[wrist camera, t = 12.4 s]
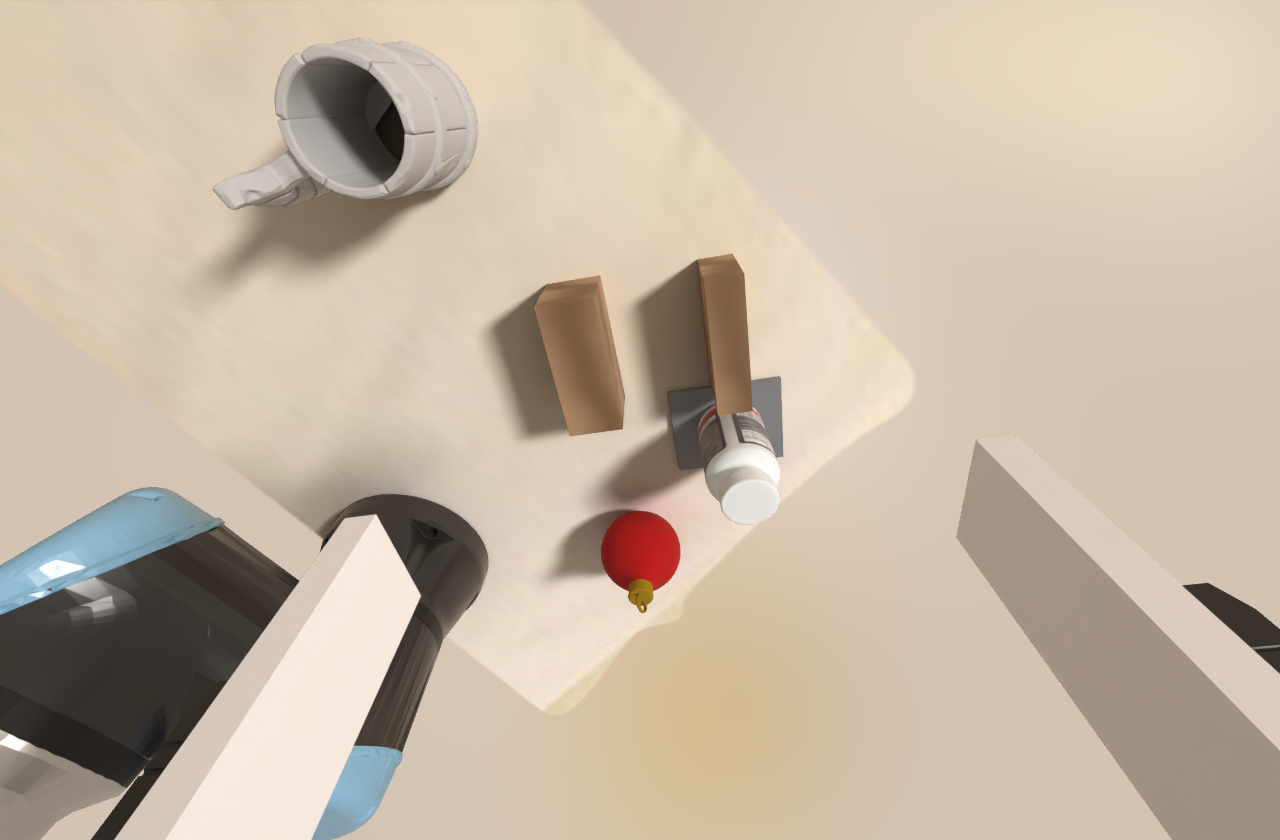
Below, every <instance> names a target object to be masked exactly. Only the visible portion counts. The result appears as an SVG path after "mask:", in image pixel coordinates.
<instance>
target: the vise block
mask: <svg viewBox="0 0 1280 840" xmlns="http://www.w3.org/2000/svg"><path fill="white" fill-rule="evenodd" d="M697 264H698V273H699V282H700V291H701V300H702V310H703V319H704V328H705V337H706V347H707V356H708V365H709V374H710V384H711V388H712V392H713V397H714V401H715V405H716V409H717V414H718V416H721V415H728V414H736V413H743V412H750V411H753V405H752V390H751V374H750V358H749V342H748V327H747V311H746V295H745V279H744V273H743V271H742V269H741V268H740V266H739V264H738V262H737V261H736V259H735V257H734V256H733V254H729V255H723V256H717V257H711V258H705V259H699V260H697ZM534 310H535V314H536V318H537V321H538V325H539V328H540V332H541V335H542V339H543V343H544V346H545V350H546V353H547V357H548V361H549V364H550V368H551V371H552V375H553V378H554V382H555V386H556V389H557V393H558V396H559V400H560V403H561V407H562V411H563V414H564V418H565V421H566V425H567V428H568V432H569V436H576V435H583V434H590V433H597V432H605V431H612V430H619V429H623V418H624V402H625V395H624V390H623V385H622V380H621V375H620V370H619V365H618V361H617V356H616V351H615V346H614V341H613V336H612V331H611V327H610V322H609V317H608V312H607V307H606V302H605V297H604V292H603V288H602V283H601V278H600V276H595V277H589V278H583V279H577V280H571V281H565V282H559V283H553V284H547V285H546V286H545V288H544V289H543V291H542V293H541V295H540V297H539V299H538V301H537V303H536V304H535V306H534Z"/></svg>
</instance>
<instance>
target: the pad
mask: <svg viewBox="0 0 1280 840" xmlns="http://www.w3.org/2000/svg"><path fill="white" fill-rule="evenodd" d="M751 390H752V405H753V408H755V409H756V410H757V412H758V413H759V415H760V417H761V419H762V422H763V424H764V427H765V429H766V432H767V435H768V437H769V440H770V443H771V445H772V448H773V451H774V453H775V456H776V457H783V432H782V399H781V378H780V376H779V377H772V378H765V379H758V380H751ZM668 398H669V405H670V411H671V418H672V424H673V430H674V437H675V443H676V449H677V456H678V462H679V469H680V470H683V469H691V468H698V467H703V461H702V455H701V449H700V444H699V437H698V426H699V422H700V420H701V418H702V416H703V415H704V414H705V412H706V411H707V410H708V409H709V408H711V407H712V406H714V405H715V401H714V397H713V392H712V388H711V386H709V387H702V388H695V389H688V390H681V391H674V392H668Z"/></svg>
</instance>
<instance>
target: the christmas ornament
mask: <svg viewBox="0 0 1280 840" xmlns="http://www.w3.org/2000/svg"><path fill="white" fill-rule="evenodd" d="M601 558H602V563H603V566H604V569H605V571H606V573H607V574H608V576H609V577H610V578H611V580H612V581H613V582H614V583H616V584H617V585H618V586H620V587H621V588H623V589H625V590H627V591H629V595H628V599H629V601H630V602H631V603H632V604H634V605H637V607H638V609H639V611H640V612H641V613H645V612H646V611H647V604H649V603H651V602H652V600H653V591H654V590H656V589H659V588H660V587H662V586H663V585H665V584H666V583H667V582H668V581H669V580H670V579H671V578H672V576H673V575H674V573H675V571H676V570H677V567H678V564H679V560H680V543H679V540H678V537H677V534H676V532H675V531H674V529H673V528H672V526H671V525H670V524H669V523H668V522H667V521H666V520H665V519H663V518H662V517H660V516H658V515H657V514H654V513H651V512H645V511H636V512H631V513H628V514H625V515H623V516H621V517H620V518H618V519H617V520H616V521H614V522H613V523H612V525H611V526H610V527H609V528H608V530H607V532H606V533H605V536H604V538H603V541H602V546H601ZM642 605H643V606H644V611H643V610H642V608H641V606H642Z"/></svg>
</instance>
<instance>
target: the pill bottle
mask: <svg viewBox="0 0 1280 840" xmlns="http://www.w3.org/2000/svg"><path fill="white" fill-rule="evenodd" d="M698 437H699V444H700V449H701V455H702V461H703V467H704V473H705V479H706V484H707V486H708V489H709V491H710V493H711V494H712V495H713V496H714V497H715V498H716V499H717V500H718V501H719V502H720V505H721V509H722V512H723V513H724V515H725V516H726V517H727V518H728V519H730V520H731V521H733V522H735V523H738V524H745V525H749V524H756V523H760V522H762V521H764V520H766V519H768V518H769V517H770V516H771V515H772V514H773V513H774V512H775V511H776V509H777V507H778V504H779V494H778V491H777V486H778V483H779V480H780V467H779V463H778V460H777V458H776V456H775V453H774V451H773V448H772V445H771V443H770V440H769V437H768V435H767V432H766V429H765V427H764V424H763V422H762V419H761V417H760V415H759V413H758V412H757V410H756V409H755V408H753V411H750V412H743V413H736V414H728V415H721V416H718V414H717V409H716V405H714V406H712V407H711V408H709V409H708V410H707V411H706V412H705V414H704V415H703V416H702V418H701V420H700V422H699V426H698Z"/></svg>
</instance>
